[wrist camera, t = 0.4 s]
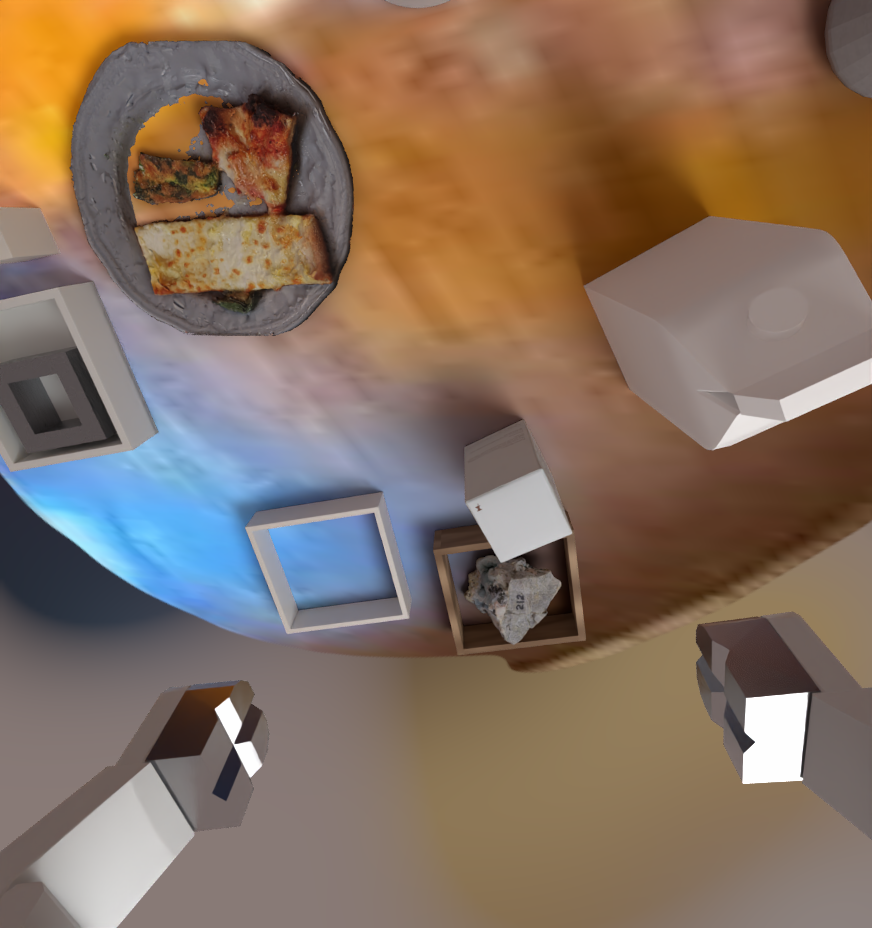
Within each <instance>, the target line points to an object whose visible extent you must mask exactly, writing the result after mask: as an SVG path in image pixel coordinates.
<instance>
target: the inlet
mask: <svg viewBox="0 0 872 928" xmlns="http://www.w3.org/2000/svg"><path fill="white" fill-rule="evenodd" d="M53 374H57V375H58V377H59V379H60V381H61V383H62V385H63V387H64V389H65V391H66V393H67V395H68V397H69V399H70V401H71V403H72V405H73V407H74V409H75V411H76V413H77V415H78V417H79V418H75V419H69V420H64V421H61V419H60V417H59V415H58V413H57V411H56V409H55V407H54V405H53V404H52V402H51V400H50V398H49V396H48V394H47V392H46V390H45V388H44V386H43V384H42V382H41V380H40V378H39V377H43V376H48V375H53ZM0 404H1V406H2V407H3V409H4V411H5V413H6V415H7V416H8V418H9V420H10V422H11V424H12V426H13V427H14V429H15V431H16V433H17V435H18V437H19V438H20V440H21V442H22V444H23V446H24V447H25V449H26V451H27V453H32V452H38V451H43V450H49V449H54V448H60V447H65V446H71V445H76V444H82V443H87V442H93V441H98V440H104V439H107V438H109V437H111V436H112V435H114V434H116V433H117V431H116V429H115V427H114V425H113V423H112V420H111V418H110V416H109V414H108V412H107V410H106V408H105V405H104V403H103V401H102V399H101V397H100V395H99V393H98V391H97V388H96V386H95V384H94V382H93V380H92V378H91V376H90V373H89V371H88V369H87V367H86V365H85V363H84V361H83V358H82V356H81V354H80V352H79V350H78V348H77V346H75V347H70V348H65V349H60V350H55V351H50V352H46V353H41V354H36V355H31V356H26V357H21V358H17V359H12V360H9V361H6V362H3V363H0Z"/></svg>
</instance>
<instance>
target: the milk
mask: <svg viewBox="0 0 872 928" xmlns="http://www.w3.org/2000/svg"><path fill="white" fill-rule="evenodd" d="M584 288H585V290H586V293H587V295H588V297H589V299H590V302H591V304H592V306H593V308H594V311H595V313H596V315H597V317H598V320H599V322H600V324H601V326H602V329H603V331H604V333H605V335H606V338H607V340H608V342H609V344H610V347H611V349H612V351H613V353H614V356H615V358H616V360H617V362H618V365H619V367H620V369H621V371H622V374H623V376H624V378H625V380H626V382H627V385H628V387H629V389H630V390H631V391H632V392H634V393H635V394H636V395H637V396H639V397H640V398H641V399H642V400H644V401H645V402H646V403H648V404H649V405H650V406H651V407H653V408H654V409H655V410H657V411H658V412H659V413H660V414H662V415H663V416H664V417H665V418H667V419H668V420H669V421H671V422H672V423H673V424H674V425H676V426H677V427H678V428H679V429H681V430H682V431H683V432H685V433H686V434H687V435H688V436H690V437H691V438H692V439H693V440H695V441H696V442H697V443H699V444H700V445H701V446H702V447H704V448H706V449H707V450H714V449H718V448H722V447H726V446H731V445H733V444H735V443H738V442H740V441H742V440H744V439H747V438H749V437H751V436H753V435H756V434H758V433H760V432H762V431H765V430H767V429H769V428H771V427H773V426H776V425H778V424H780V423H782V422H785V421H786V422H787V421H789V420H791V419H793V418H796V417H798V416H800V415H802V414H805V413H807V412H809V411H811V410H814V409H816V408H818V407H820V406H823V405H825V404H827V403H829V402H832V401H834V400H836V399H838V398H841V397H843V396H845V395H847V394H850V393H852V392H854V391H856V390H859V389H861V388H863V387H865V386H867V385H870V384H872V301H871V299H870V297H869V296H868V294H867V292H866V290H865V288H864V287H863V285H862V283H861V281H860V280H859V278H858V276H857V274H856V272H855V271H854V269H853V267H852V265H851V263H850V262H849V260H848V258H847V256H846V255H845V253H844V251H843V250H842V248H841V247H840V245H839V244H838V243H837V241H836V240H835V239H834V238H833V237H832V236H831V235H830V234H828V233H827V232H825V231H822V230H819V229H811V228H803V227H795V226H786V225H778V224H770V223H762V222H754V221H746V220H738V219H730V218H722V217H714V216H709V217H707V218H705V219H703V220H702V221H700V222H698V223H696V224H694V225H693V226H691V227H689V228H687V229H685V230H684V231H682V232H680V233H678V234H676V235H675V236H673V237H671V238H669V239H667V240H665V241H664V242H662V243H660V244H658V245H656V246H655V247H653V248H651V249H649V250H647V251H646V252H644V253H642V254H640V255H638V256H637V257H635V258H633V259H631V260H629V261H628V262H626V263H624V264H622V265H620V266H619V267H617V268H615V269H613V270H611V271H610V272H608V273H606V274H604V275H602V276H601V277H599V278H597V279H595V280H593V281H592V282H590V283H588V284H586V285H584Z"/></svg>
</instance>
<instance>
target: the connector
mask: <svg viewBox="0 0 872 928" xmlns="http://www.w3.org/2000/svg"><path fill="white" fill-rule="evenodd" d="M56 254H60V251H59V249H58V246H57V244H56V242H55V240H54V238H53V235H52V233H51V231H50V229H49V226H48V224H47V222H46V220H45V217H44V215H43V213H42V211H41V209H40V208H16V207H0V264H7V263H17V262H25V261H30V260H34V259H38V258H43V257H47V256H51V255H56Z"/></svg>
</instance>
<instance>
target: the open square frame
mask: <svg viewBox="0 0 872 928" xmlns="http://www.w3.org/2000/svg"><path fill="white" fill-rule="evenodd" d="M368 513H374V514H375V517H376V521H377V524H378V528H379V531H380V535H381V539H382V542H383V546H384V549H385V553H386V556H387V560H388V564H389V567H390V571H391V574H392V578H393V581H394V585H395V589H396V592H397V596H398V597H395V598H387V599H380V600H372V601H365V602H357V603H350V604H342V605H335V606H327V607H320V608H312V609H305V610H298V608H297V605H296V603H295V600H294V597H293V595H292V592H291V589H290V587H289V584H288V581H287V579H286V576H285V573H284V571H283V568H282V565H281V563H280V560H279V557H278V555H277V552H276V549H275V547H274V544H273V542H272V539H271V536H270V534H269V531H268V529H271V528H277V527H284V526H290V525H297V524H303V523H310V522H316V521H323V520H329V519H336V518H342V517H349V516H355V515H362V514H368ZM245 529H246V531H247V534H248V536H249V539H250V541H251V544H252V546H253V549H254V551H255V554H256V556H257V559H258V561H259V564H260V566H261V569H262V572H263V574H264V577H265V579H266V582H267V584H268V587H269V589H270V592H271V594H272V597H273V599H274V602H275V604H276V607H277V609H278V612H279V615H280V617H281V620H282V622H283V625H284V627H285V630H286V632H287V634H290V633H298V632H306V631H313V630H321V629H329V628H337V627H345V626H353V625H361V624H368V623H376V622H384V621H392V620H400V619H408V618H409V614H410V607H411V600H412V599H411V595H410V592H409V588H408V584H407V580H406V577H405V573H404V569H403V565H402V562H401V558H400V554H399V551H398V547H397V543H396V539H395V536H394V532H393V528H392V524H391V521H390V517H389V513H388V509H387V506H386V502H385V498H384V495H383V492H379V493H372V494H366V495H360V496H353V497H347V498H341V499H334V500H328V501H322V502H315V503H309V504H303V505H296V506H290V507H284V508H277V509H271V510H265V511H258V512H256V513H255V514H254V516H253V517H252V518H251V520H250V521H249V523H248V524H247V526H246V527H245Z"/></svg>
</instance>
